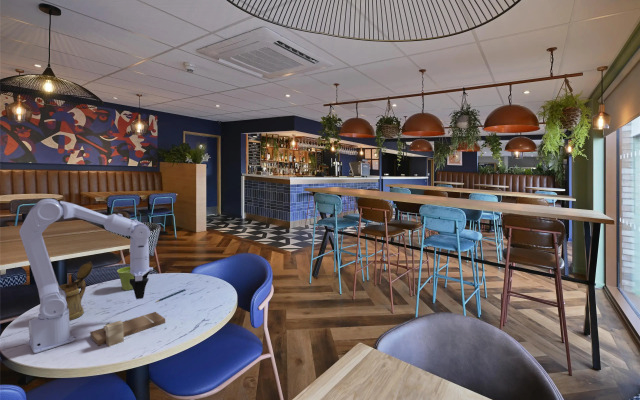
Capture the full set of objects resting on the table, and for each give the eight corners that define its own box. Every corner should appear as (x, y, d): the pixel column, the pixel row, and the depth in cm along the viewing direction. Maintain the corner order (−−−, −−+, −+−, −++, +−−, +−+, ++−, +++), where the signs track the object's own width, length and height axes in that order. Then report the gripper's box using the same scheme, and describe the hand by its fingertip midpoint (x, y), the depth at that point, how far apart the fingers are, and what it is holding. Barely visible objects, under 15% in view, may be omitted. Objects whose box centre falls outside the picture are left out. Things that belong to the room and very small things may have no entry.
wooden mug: (101, 308, 122) (99, 262, 120) (63, 323, 109) (60, 272, 107) (85, 304, 125) (83, 259, 123) (45, 319, 112) (43, 269, 110)
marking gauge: (109, 346, 96) (108, 327, 95) (100, 336, 101) (99, 318, 101) (123, 341, 99) (123, 323, 98) (114, 332, 104) (113, 314, 104)
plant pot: (134, 292, 138) (133, 272, 137) (112, 291, 138) (112, 272, 137) (146, 284, 147) (145, 266, 147) (126, 284, 147) (125, 265, 147)
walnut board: (98, 345, 96) (98, 340, 96) (90, 336, 101) (90, 331, 101) (165, 322, 111) (165, 318, 111) (155, 315, 117) (155, 311, 116)
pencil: (185, 291, 141) (155, 303, 128) (184, 290, 142) (154, 303, 128) (185, 289, 141) (155, 301, 128) (184, 288, 142) (154, 301, 128)
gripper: (151, 261, 106) (152, 300, 107) (153, 251, 119) (153, 286, 120) (127, 263, 103) (128, 303, 104) (131, 252, 116) (132, 288, 117)
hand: (140, 294), depth 112 cm, fingers open, 7 cm apart
